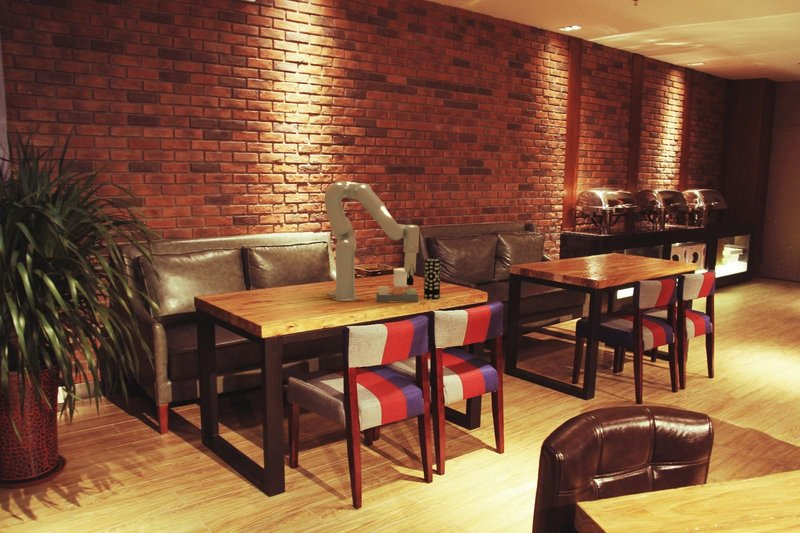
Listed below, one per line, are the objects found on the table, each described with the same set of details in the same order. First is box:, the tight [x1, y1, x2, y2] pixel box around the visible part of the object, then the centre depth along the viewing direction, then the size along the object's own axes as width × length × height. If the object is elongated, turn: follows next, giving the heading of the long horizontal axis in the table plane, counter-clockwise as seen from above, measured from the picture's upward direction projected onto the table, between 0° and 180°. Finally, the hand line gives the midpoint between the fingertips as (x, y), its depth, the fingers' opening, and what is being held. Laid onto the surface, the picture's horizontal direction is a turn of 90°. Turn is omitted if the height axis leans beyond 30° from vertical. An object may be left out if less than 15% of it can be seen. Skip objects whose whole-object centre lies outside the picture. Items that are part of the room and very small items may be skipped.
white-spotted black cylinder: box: [423, 258, 442, 300], centre depth 335 cm, size 8×8×20 cm
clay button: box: [391, 285, 403, 295], centre depth 328 cm, size 5×5×5 cm
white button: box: [377, 285, 389, 295], centre depth 327 cm, size 5×5×5 cm
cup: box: [392, 267, 411, 288], centre depth 368 cm, size 10×10×10 cm
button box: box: [375, 291, 419, 303], centre depth 328 cm, size 21×7×4 cm, turn 96°
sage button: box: [404, 287, 417, 295], centre depth 329 cm, size 5×5×5 cm
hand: (409, 285), depth 328 cm, fingers closed
